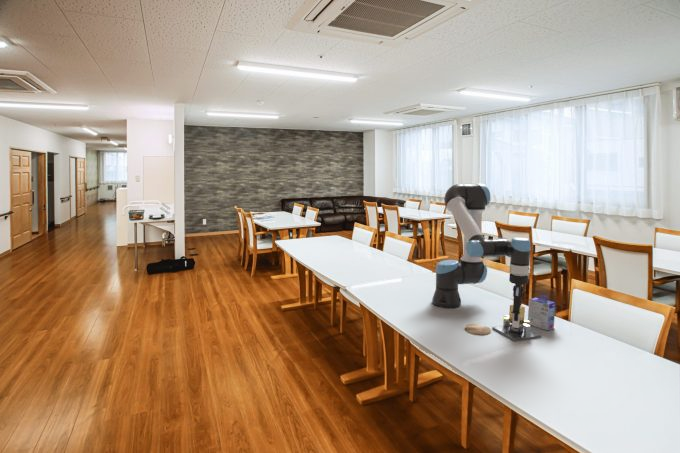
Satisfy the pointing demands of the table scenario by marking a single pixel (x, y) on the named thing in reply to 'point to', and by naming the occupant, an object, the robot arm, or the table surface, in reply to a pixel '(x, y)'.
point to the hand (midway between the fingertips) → (516, 324)
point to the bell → (522, 312)
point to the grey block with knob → (516, 331)
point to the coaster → (477, 329)
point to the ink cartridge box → (541, 313)
